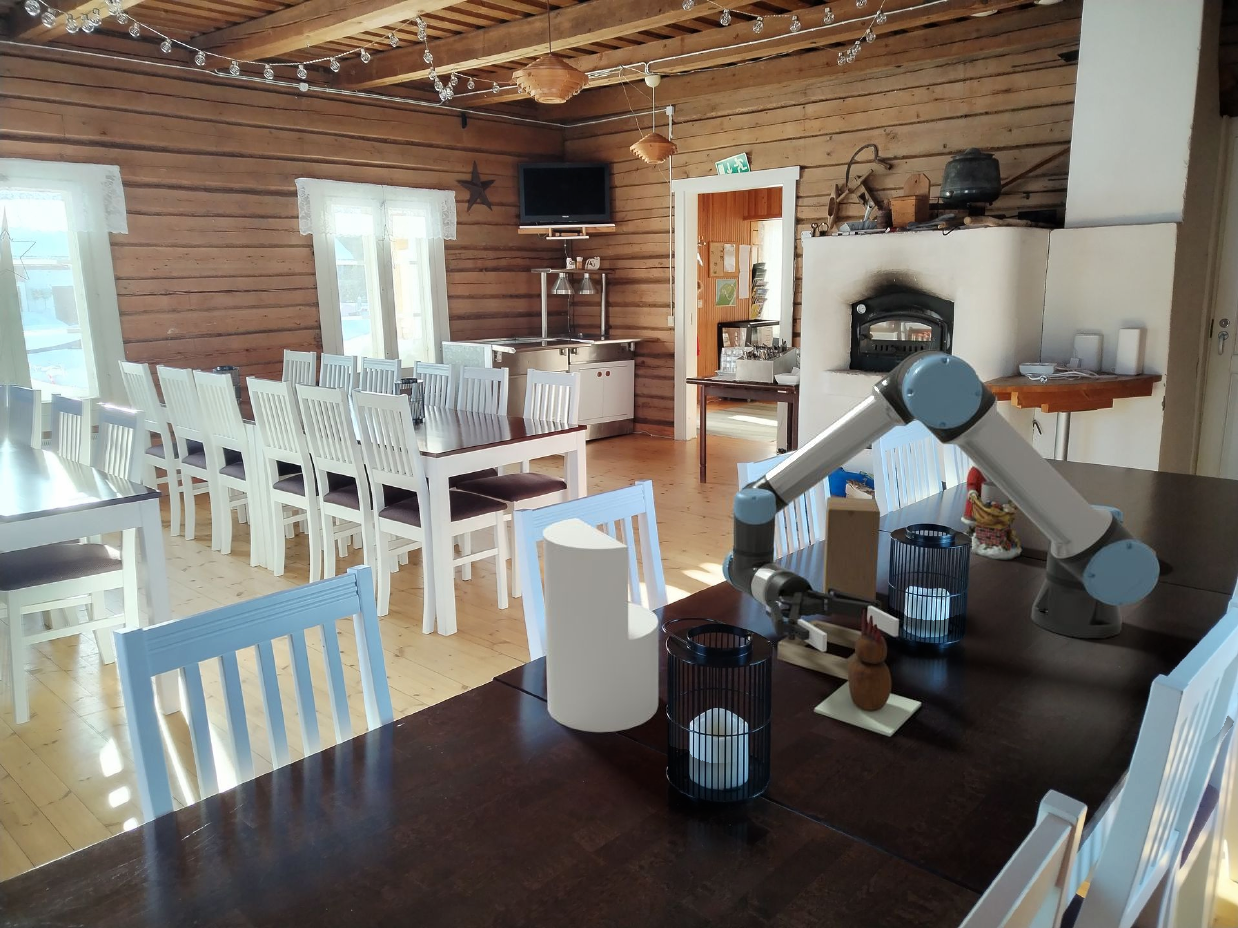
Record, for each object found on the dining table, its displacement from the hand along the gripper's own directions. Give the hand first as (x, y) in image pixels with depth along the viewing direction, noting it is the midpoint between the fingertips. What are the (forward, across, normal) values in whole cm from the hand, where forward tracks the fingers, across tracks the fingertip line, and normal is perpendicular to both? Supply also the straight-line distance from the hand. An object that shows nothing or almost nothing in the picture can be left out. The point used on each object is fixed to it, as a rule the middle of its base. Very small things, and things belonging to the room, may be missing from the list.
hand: (861, 635), depth 134 cm
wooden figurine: (+2, 0, -11) cm, 11 cm away
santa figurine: (-50, -79, -11) cm, 94 cm away
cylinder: (-16, +36, -11) cm, 41 cm away
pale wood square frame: (-16, -7, -11) cm, 20 cm away
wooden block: (-38, -28, -11) cm, 49 cm away
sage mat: (+2, 0, -11) cm, 11 cm away
